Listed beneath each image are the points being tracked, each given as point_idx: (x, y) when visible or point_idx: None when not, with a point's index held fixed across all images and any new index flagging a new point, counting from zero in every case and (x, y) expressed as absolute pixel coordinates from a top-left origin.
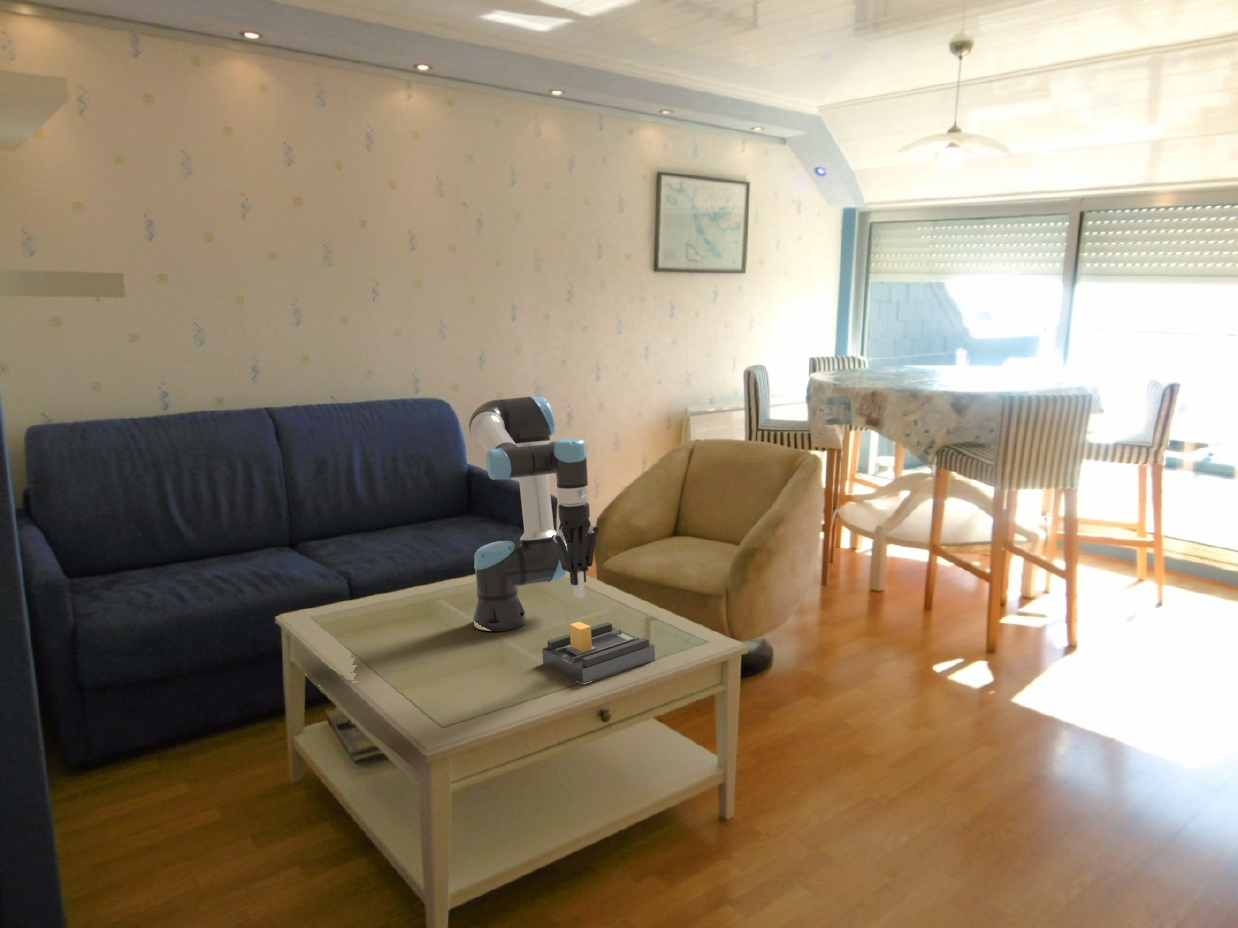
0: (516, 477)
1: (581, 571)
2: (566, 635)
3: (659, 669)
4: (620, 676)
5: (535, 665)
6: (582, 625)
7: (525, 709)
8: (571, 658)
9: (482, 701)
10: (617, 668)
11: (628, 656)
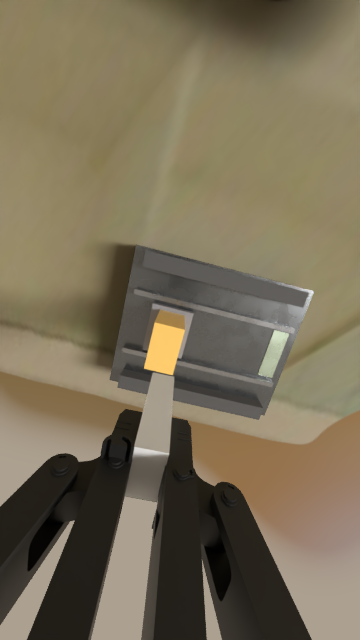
0: None
1: (151, 494)
2: (194, 265)
3: (230, 420)
4: None
5: (130, 236)
6: (167, 354)
7: (6, 347)
8: (133, 332)
9: None
10: None
11: None
